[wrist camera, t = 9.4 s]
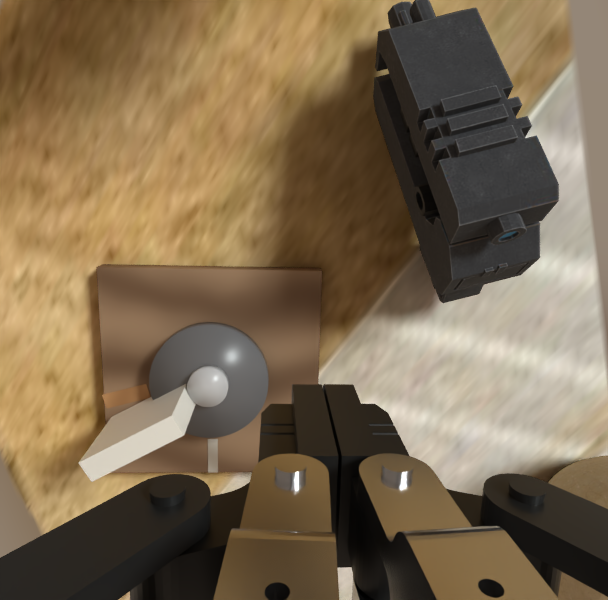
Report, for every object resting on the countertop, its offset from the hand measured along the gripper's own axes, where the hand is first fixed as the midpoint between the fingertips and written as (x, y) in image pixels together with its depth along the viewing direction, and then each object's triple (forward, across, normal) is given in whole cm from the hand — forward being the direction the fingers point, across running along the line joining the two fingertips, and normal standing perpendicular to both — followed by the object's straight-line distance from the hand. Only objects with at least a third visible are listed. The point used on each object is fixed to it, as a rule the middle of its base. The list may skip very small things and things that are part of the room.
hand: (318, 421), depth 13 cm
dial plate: (+29, +6, +9) cm, 31 cm away
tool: (+29, -10, -8) cm, 32 cm away
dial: (+27, +8, +10) cm, 30 cm away
